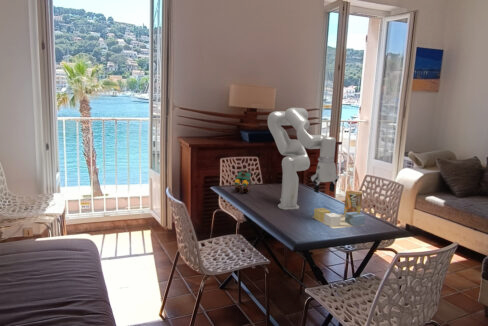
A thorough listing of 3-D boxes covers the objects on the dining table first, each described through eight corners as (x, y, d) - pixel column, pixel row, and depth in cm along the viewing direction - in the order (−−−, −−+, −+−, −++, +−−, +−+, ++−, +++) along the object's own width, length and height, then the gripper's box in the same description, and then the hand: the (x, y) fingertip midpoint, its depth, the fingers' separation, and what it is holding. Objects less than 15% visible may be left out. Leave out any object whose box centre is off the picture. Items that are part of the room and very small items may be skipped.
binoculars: (232, 195, 265) (229, 179, 255) (238, 182, 275) (235, 166, 265) (252, 198, 261) (250, 181, 251) (257, 184, 271) (255, 168, 261)
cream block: (323, 222, 202) (324, 213, 201) (332, 221, 204) (333, 212, 203) (330, 226, 196) (331, 217, 196) (339, 225, 199) (340, 216, 198)
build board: (311, 219, 211) (312, 208, 210) (341, 216, 219) (342, 205, 218) (332, 230, 194) (333, 218, 193) (364, 227, 202) (365, 215, 201)
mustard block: (313, 217, 210) (314, 208, 209) (323, 216, 212) (323, 208, 212) (320, 221, 205) (320, 211, 204) (329, 220, 207) (330, 211, 206)
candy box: (359, 217, 219) (362, 191, 216) (359, 219, 215) (362, 192, 212) (343, 215, 221) (346, 189, 219) (343, 217, 217) (346, 191, 214)
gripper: (316, 161, 196) (314, 194, 199) (344, 161, 203) (341, 192, 206) (308, 159, 203) (306, 190, 206) (335, 158, 210) (333, 189, 213)
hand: (324, 191), depth 206 cm, fingers open, 9 cm apart
